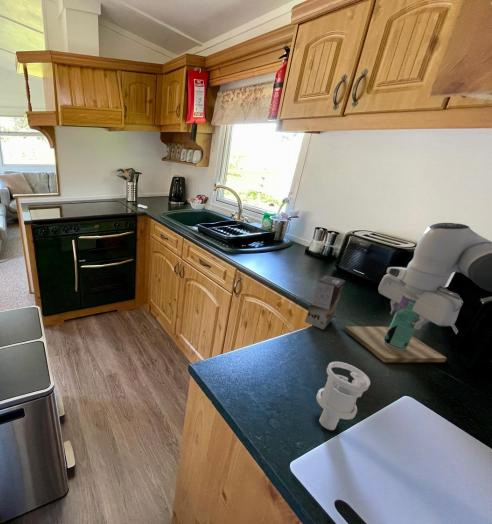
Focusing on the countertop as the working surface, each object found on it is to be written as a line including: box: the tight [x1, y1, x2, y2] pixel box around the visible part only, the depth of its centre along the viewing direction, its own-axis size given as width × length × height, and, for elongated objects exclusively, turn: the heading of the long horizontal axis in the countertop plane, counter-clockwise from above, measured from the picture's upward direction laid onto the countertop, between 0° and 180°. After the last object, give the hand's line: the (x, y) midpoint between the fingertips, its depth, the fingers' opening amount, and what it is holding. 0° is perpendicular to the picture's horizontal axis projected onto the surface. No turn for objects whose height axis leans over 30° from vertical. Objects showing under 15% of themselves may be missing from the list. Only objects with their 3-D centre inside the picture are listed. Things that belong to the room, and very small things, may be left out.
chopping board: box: [343, 325, 448, 363], centre depth 92 cm, size 20×16×2 cm
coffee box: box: [304, 274, 346, 330], centre depth 99 cm, size 9×6×16 cm
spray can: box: [384, 291, 421, 351], centre depth 86 cm, size 6×6×20 cm
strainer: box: [315, 361, 371, 431], centre depth 60 cm, size 7×7×15 cm
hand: (404, 321), depth 86 cm, fingers closed on spray can, 5 cm apart
